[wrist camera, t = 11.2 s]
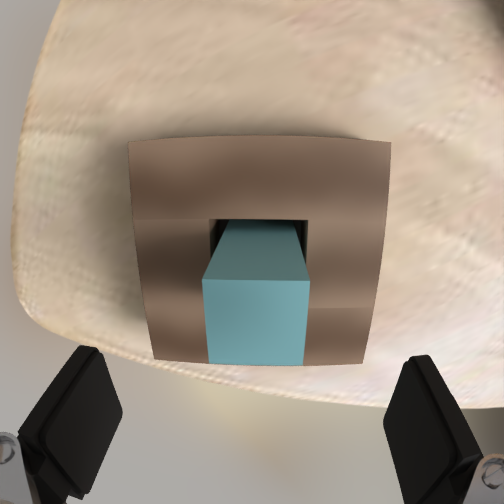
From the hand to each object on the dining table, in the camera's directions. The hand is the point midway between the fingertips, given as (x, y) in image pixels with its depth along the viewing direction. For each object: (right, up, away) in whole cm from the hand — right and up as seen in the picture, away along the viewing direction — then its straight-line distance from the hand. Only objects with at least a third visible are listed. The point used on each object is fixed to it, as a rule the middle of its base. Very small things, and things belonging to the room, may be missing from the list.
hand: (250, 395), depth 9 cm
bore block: (+1, +5, +16) cm, 17 cm away
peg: (+1, +5, +15) cm, 16 cm away
